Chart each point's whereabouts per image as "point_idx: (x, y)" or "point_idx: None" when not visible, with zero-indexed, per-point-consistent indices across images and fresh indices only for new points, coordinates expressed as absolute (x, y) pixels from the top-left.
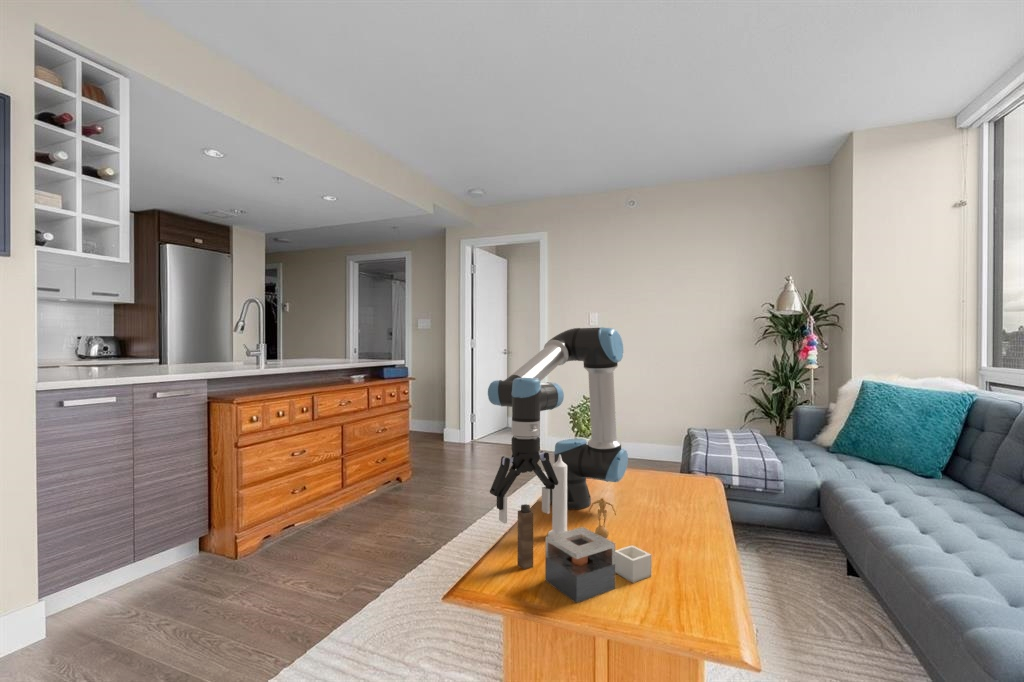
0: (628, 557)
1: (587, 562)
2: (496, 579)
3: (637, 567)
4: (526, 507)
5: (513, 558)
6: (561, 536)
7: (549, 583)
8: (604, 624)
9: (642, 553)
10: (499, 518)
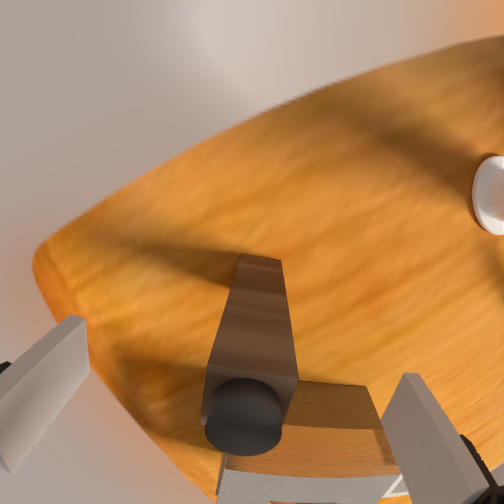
0: (390, 489)
1: None
2: (132, 275)
3: None
4: (225, 451)
5: (269, 202)
6: (273, 491)
7: None
8: (212, 491)
9: None
10: (65, 323)
